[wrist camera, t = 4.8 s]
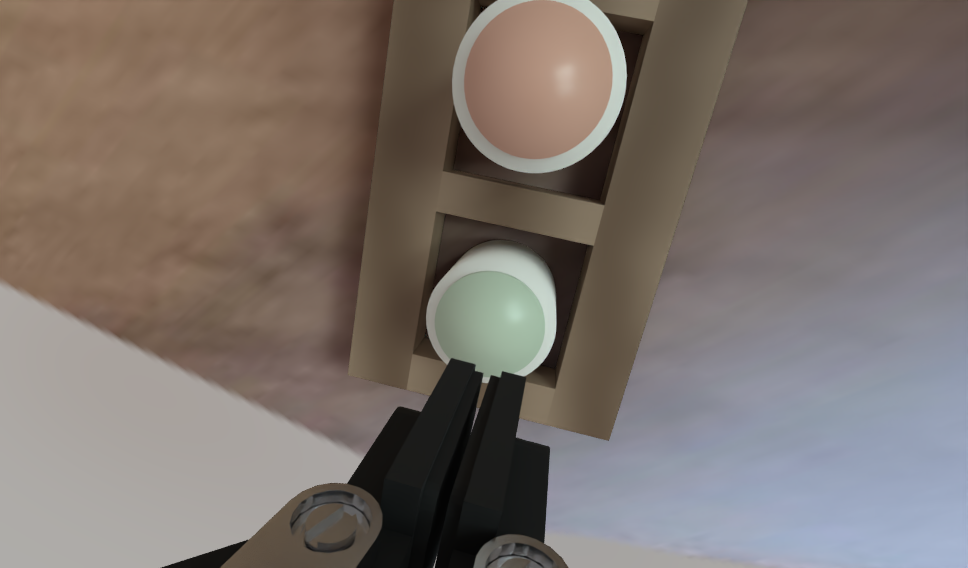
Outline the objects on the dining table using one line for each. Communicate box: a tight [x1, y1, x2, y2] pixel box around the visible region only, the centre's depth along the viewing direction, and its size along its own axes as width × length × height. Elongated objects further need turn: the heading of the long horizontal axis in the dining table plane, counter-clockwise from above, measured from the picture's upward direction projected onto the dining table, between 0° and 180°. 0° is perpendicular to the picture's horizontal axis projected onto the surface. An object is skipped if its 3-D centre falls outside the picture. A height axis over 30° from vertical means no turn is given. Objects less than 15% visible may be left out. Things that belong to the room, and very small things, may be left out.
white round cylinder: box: [426, 240, 556, 383], centre depth 19 cm, size 5×5×4 cm
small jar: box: [452, 0, 627, 173], centre depth 15 cm, size 5×5×4 cm
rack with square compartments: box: [348, 0, 748, 441], centre depth 18 cm, size 12×26×2 cm, turn 169°
